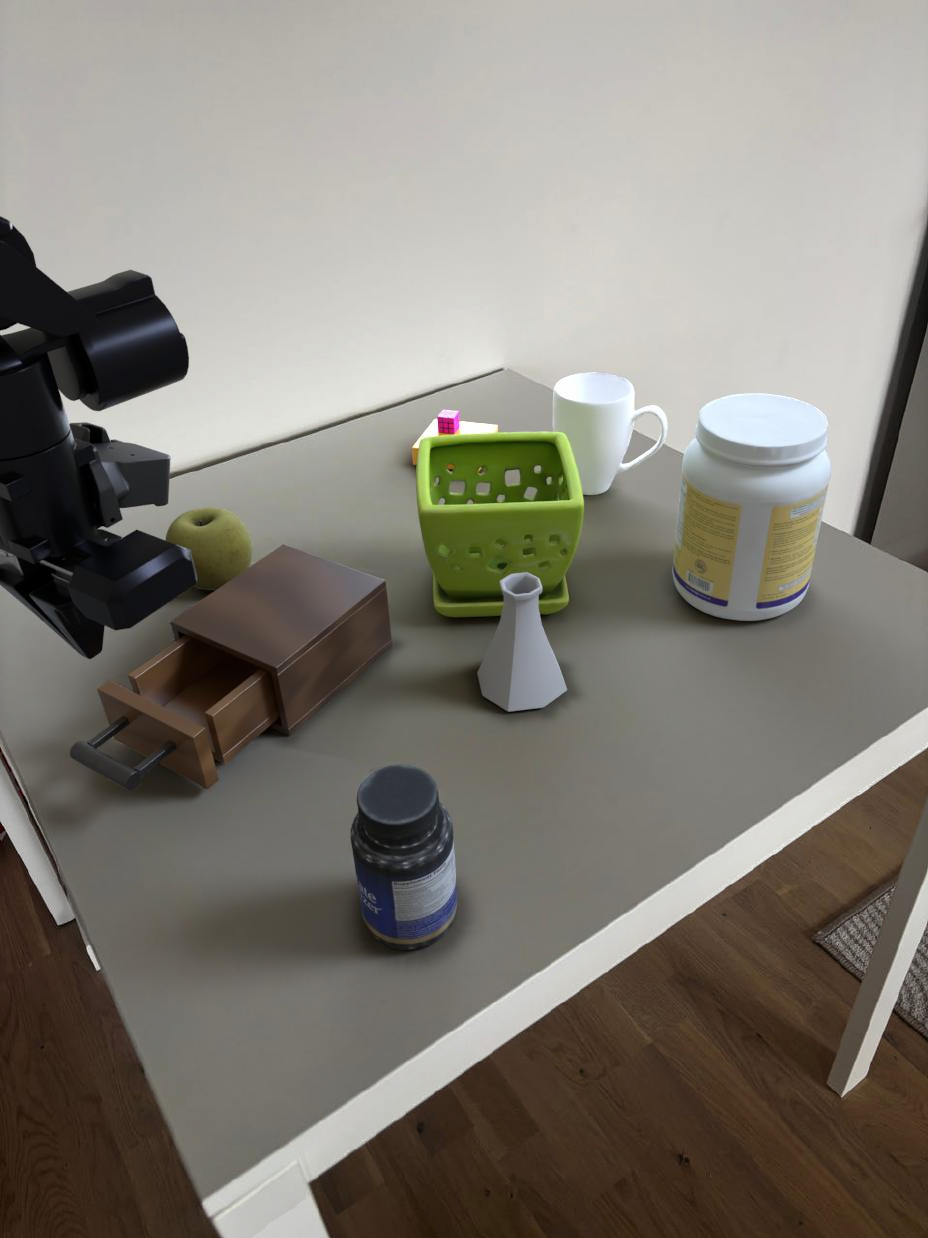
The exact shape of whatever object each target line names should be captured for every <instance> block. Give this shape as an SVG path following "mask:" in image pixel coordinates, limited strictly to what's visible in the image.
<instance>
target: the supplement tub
mask: <svg viewBox="0 0 928 1238" xmlns="http://www.w3.org/2000/svg"><path fill="white" fill-rule="evenodd" d="M828 429H829V420H828V418H827V416H826V415H825V413H824V412H822V411H821V410H820V409H818V408H817V407H816V406H814V405H812V404H810V403H808V402H805V401H802V400H800V399H797V398H793V397H789V396H784V395H779V394H771V393H755V392H754V393H753V392H751V393H736V394H730V395H725V396H722V397H719V398H716V399H714V400H712V401H709V402H707V403H706V404H705V405H703V407H702V408H701V409H700V410H699V414H698V418H697V424H696V426H695V430H694V431H695V432H694V436H695V437H694V438H693V439H692V440H691V441H690V442H689V444H688V445H687V447H686V449H685V451H684V454H683V457H682V461H681V476H680V488H679V495H678V497H679V498H678V507H677V518H676V528H675V541H674V550H673V551H674V552H673V562H672V567H671V573H672V579H673V583H674V586H675V588H676V590H677V591H678V593H679V595H680V596H682V599H684V600H685V601H686V602H687V603H688V604H689V605H691V606H692V607H694V608H695V609H696V610H698V611H700V612H702V613H704V614H707V615H710V616H713V617H716V618H720V619H726V620H730V621H731V620H732V621H740V622H741V621H742V622H744V621H745V622H756V621H762V620H764V621H765V620H769V619H773V618H777V617H779V616H782V615H785V614H786V613H788V612H790V611H791V610H794V609H795V608H796V607H797V606H798V605H799V604H800V603H801V602H802V601H803V599H804V598H805V596H806V594H807V592H808V589H809V586H810V581H811V575H812V569H813V564H814V558H815V554H816V550H817V549H816V548H817V545H818V540H819V539H818V538H819V534H820V530H821V529H820V528H821V524H822V519H823V518H822V517H823V514H824V509H825V503H826V498H827V494H828V488H829V484H830V480H831V476H832V462H831V459H830V456H829V454H828V451H827V450H826V448H827V446H828V440H829V439H828V438H829V437H828Z"/></svg>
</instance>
